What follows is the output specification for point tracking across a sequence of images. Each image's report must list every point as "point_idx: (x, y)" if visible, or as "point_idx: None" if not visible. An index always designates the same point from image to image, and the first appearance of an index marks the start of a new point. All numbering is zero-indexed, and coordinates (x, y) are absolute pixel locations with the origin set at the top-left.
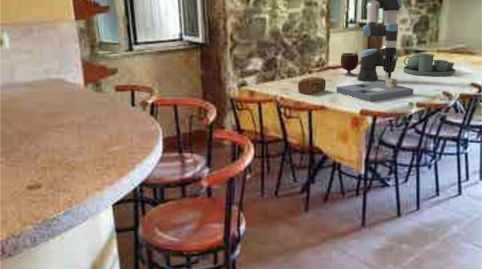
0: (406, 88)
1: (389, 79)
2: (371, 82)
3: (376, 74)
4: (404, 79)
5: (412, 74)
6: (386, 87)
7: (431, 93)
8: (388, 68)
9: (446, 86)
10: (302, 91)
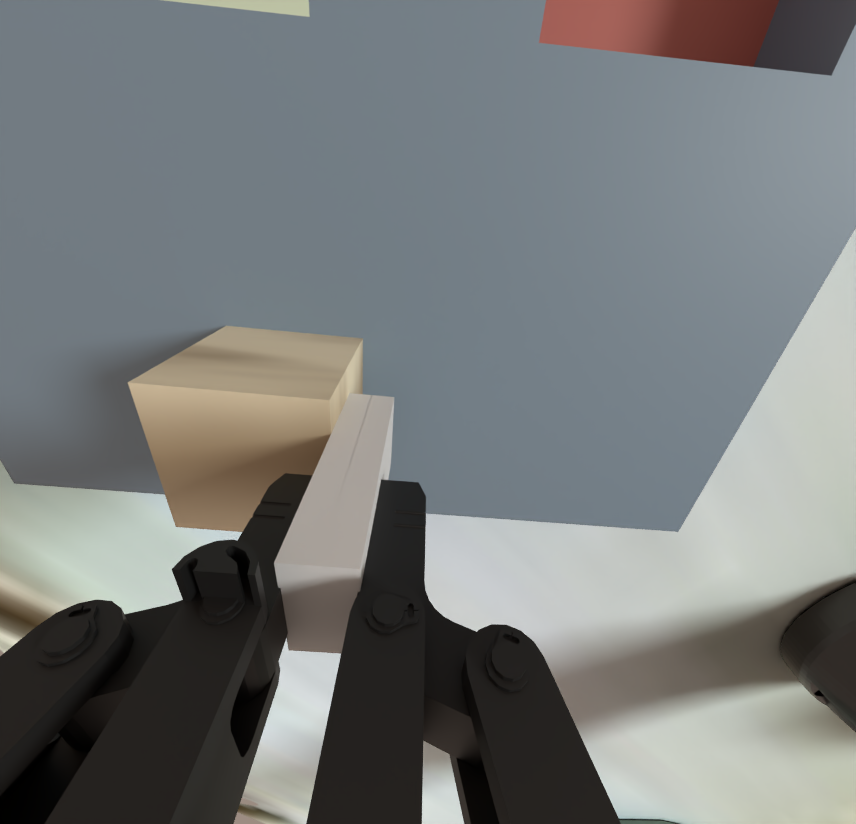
0: (60, 436)
1: (212, 391)
2: (735, 394)
3: (846, 713)
4: (605, 749)
5: (638, 820)
6: (250, 241)
7: (102, 584)
8: (165, 803)
9: (282, 748)
10: None
